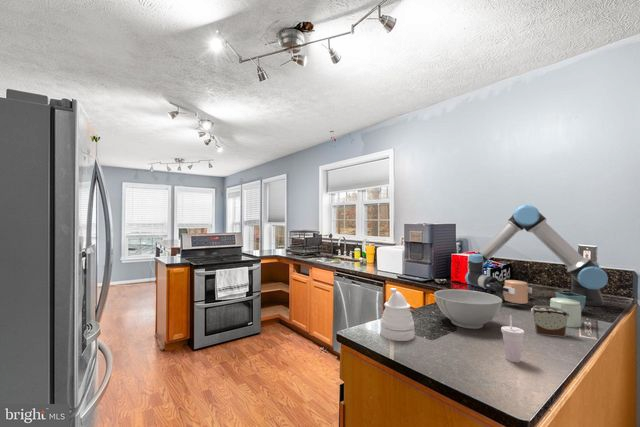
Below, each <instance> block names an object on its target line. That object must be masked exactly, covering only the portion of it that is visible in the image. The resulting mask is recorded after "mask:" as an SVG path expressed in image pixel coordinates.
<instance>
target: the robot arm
mask: <svg viewBox="0 0 640 427" xmlns="http://www.w3.org/2000/svg"><path fill="white" fill-rule="evenodd" d="M523 230H525V231H526V232H527V233H532V234H533V235H534V236H535V237H536V238H537V239H538V240H539V241H540V242H541V243H542V244H543V245H544V246H545V247H546V248H547V249H548V250H549V251H550V252H552V254H554V255H555V256H556V257H557V258H558V259H559V260H560V262H561V263H563V265H565V267H567V270H566V271H567V272H568V273H569V275H571V288H570V290H569V293H575V294H579V295H582V296H585V297H586V301H585V306H592V307H603V306H604V305H605V300H604V298H603V295H602V293H601V291H600V289H602V288H604V287H605V286H606V285H607V284H608V280H609V277H608V274H607V272H606V271H605V270H604V269H602V268H600V264H599V262H597V261H593V260H591V258H589V257H584V256H583V255H582V254H580V253H579V252H578V250H576V249H575V248H574V247H573V246H571V244H570V243H568V241H567V240H565V239H564V238H563V237H562V235H561V234H559V233H558V232H557V231H556V230H555V229H554V228H553V227H552V226H550V225H549V224H548V223H547V218H546V217H545V216H544V215H543V214H542V213H541V212H540V211H539V210H538V208H537V207H535V206H534V205H532V204H522V205H519V206H518V207H516V208H515V210H514V211H513V214H512V215H511V216H510V218H508V219H507V223H506V224H505V225H504V226H503V227H501V229H500V230H499V231H498V232H497V233H496V234H495V235H494V236H493V237H492V238H491V239H490V240H489V241H488V242H487V243H486V244H485V245H483V247H482V248H481V249H480V250H479V251H478V252H476V253H470V254H469V257H468V260H469V262H468V263H469V268H468V269H469V270H468V272H466V274H465V276H464V279H465V282H466V283H467V284H469V285H471V286H475V287H480V288H482V289H484V290H486V289H487V290H490V291H497V292H500V293H503V292H507V293H511V294H515V289H513V288H509V287H505V281H499V279H498V278H496V277H494V276H490V275H485V274H484V265H485V264H486V263H487V262H488V261H489V260H490V259H491V258H492V257H493V256H494V255H495V254H496V253H497V252H499V250H501V249H502V248H503V246H505V245H506V244H507V243H508V242H509V241H511V239H512V238H513V237H514V236H515V235H516V234H518V233H519V232H520V231H521V232H522V231H523ZM528 293H530V294H533V288H532V287H530V288H529V287H528Z"/></svg>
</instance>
